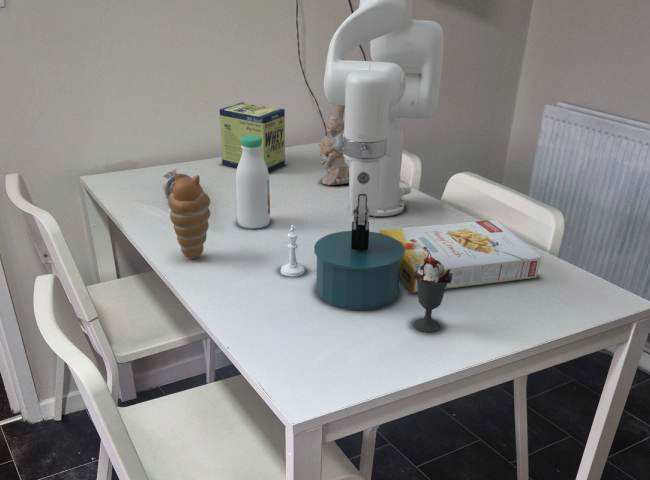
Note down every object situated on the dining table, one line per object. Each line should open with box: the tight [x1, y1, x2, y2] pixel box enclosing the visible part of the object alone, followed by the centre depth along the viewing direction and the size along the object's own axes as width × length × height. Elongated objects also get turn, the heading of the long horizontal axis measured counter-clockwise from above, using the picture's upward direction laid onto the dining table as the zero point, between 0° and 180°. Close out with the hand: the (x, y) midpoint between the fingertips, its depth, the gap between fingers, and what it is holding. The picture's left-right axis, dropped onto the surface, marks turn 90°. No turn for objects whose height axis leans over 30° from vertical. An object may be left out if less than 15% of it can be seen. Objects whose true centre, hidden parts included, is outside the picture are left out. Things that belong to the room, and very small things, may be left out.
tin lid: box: [313, 230, 405, 270], centre depth 135 cm, size 17×17×6 cm
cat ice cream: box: [167, 172, 211, 260], centre depth 148 cm, size 9×8×18 cm
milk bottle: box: [235, 135, 271, 229], centre depth 164 cm, size 8×8×20 cm
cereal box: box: [378, 219, 542, 294], centre depth 149 cm, size 20×6×28 cm
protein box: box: [219, 101, 286, 173], centre depth 202 cm, size 10×16×16 cm
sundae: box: [412, 247, 452, 333], centre depth 125 cm, size 7×7×15 cm
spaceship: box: [162, 168, 192, 200], centre depth 176 cm, size 8×35×8 cm
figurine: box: [318, 105, 350, 186], centre depth 189 cm, size 9×8×20 cm
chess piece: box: [280, 224, 305, 277], centre depth 145 cm, size 5×5×10 cm
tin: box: [315, 256, 401, 311], centre depth 138 cm, size 16×16×8 cm
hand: (359, 244), depth 135 cm, fingers closed on tin lid, 2 cm apart
